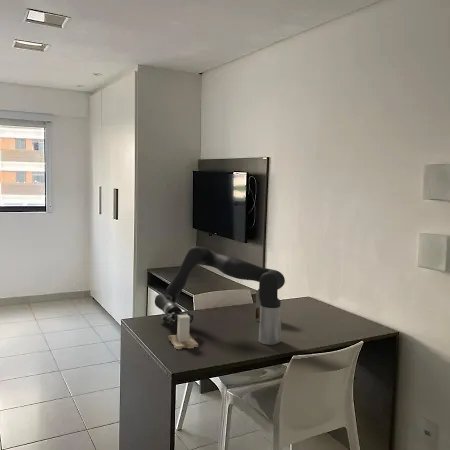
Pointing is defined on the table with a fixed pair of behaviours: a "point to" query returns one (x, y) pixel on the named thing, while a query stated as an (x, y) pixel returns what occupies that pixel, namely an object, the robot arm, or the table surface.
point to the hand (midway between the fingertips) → (181, 322)
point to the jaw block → (183, 328)
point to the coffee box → (257, 306)
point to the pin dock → (185, 344)
